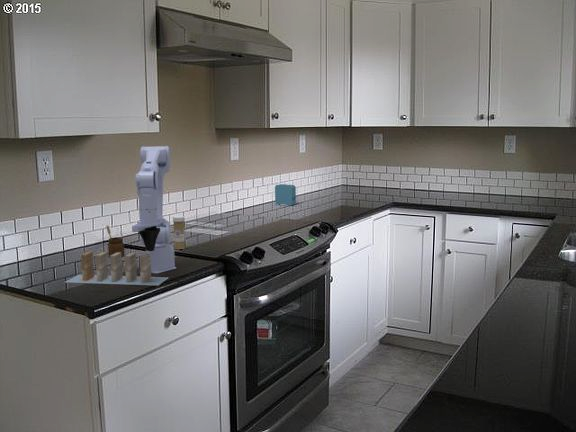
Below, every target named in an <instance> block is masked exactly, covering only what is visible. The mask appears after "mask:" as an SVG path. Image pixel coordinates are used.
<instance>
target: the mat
mask: <svg viewBox="0 0 576 432" xmlns="http://www.w3.org/2000/svg"><path fill="white" fill-rule="evenodd" d="M169 278H170V277H167V276H166V277H165V276H164V277H163V276H151V279H150V280H149V281H148V282H146V283H141V276H140V275H139V276H138V275H137V279H135V280H134V281H132V282H126V275H123V278H122V279H120V280H118V281H117V282H112V281H111V275H108V278H107V279H105V280H103V281H97V274H94V277H93V278H91V279H90V280H88V281H83V278H82V274H78V275H75V276H74V277H71V278H69V279H67V280H66V281H64V283H71V284H72V283H73V284H102V285H106V284H107V285H127V286H128V285H130V286H131V285H135V286H137V285H138V286H160V285H161V284H163V283H164V282H165V281H167V280H168V279H169Z"/></svg>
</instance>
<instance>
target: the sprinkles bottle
mask: <svg viewBox="0 0 576 432" xmlns="http://www.w3.org/2000/svg"><path fill="white" fill-rule="evenodd" d="M172 222H173V245H174V247H173V249H174V250H175V249H178V250H177V251H180V250H179V249H183V250H185V249H186V237H185V235H186V233H185V216H184V215H174V216H173V217H172Z"/></svg>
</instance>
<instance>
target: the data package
mask: <svg viewBox="0 0 576 432" xmlns="http://www.w3.org/2000/svg"><path fill="white" fill-rule="evenodd" d="M296 189H297V188H296V185H295V184H283V183H280V184H276V185H275V186H274V204H275V205H276V204H286V205H292V206H295V205H296V203H297V196H296V193H297V190H296ZM294 204H295V205H294ZM286 205H285V206H286Z"/></svg>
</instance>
